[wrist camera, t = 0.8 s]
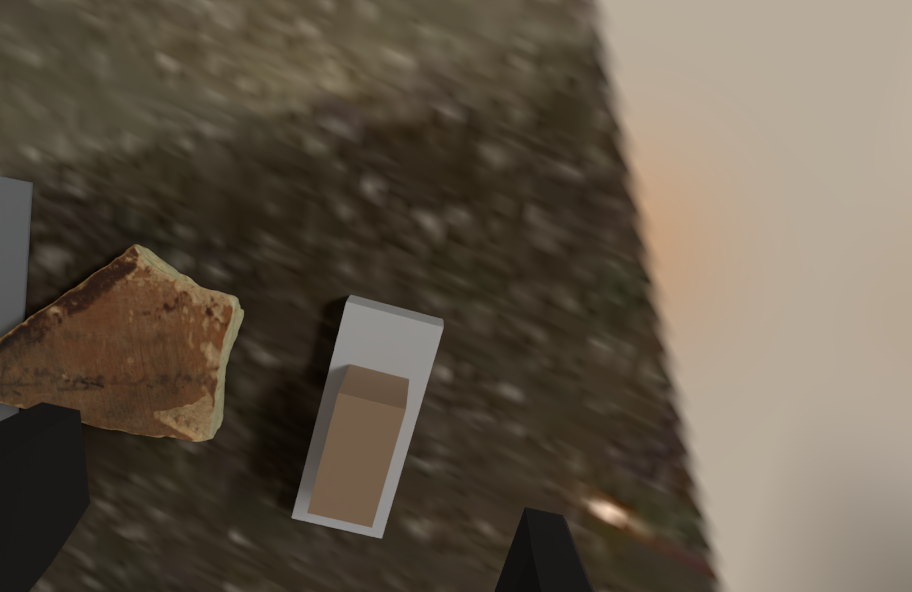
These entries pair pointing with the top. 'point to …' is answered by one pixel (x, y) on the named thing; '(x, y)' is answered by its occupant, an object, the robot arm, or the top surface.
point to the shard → (128, 351)
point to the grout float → (367, 416)
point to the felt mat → (13, 258)
